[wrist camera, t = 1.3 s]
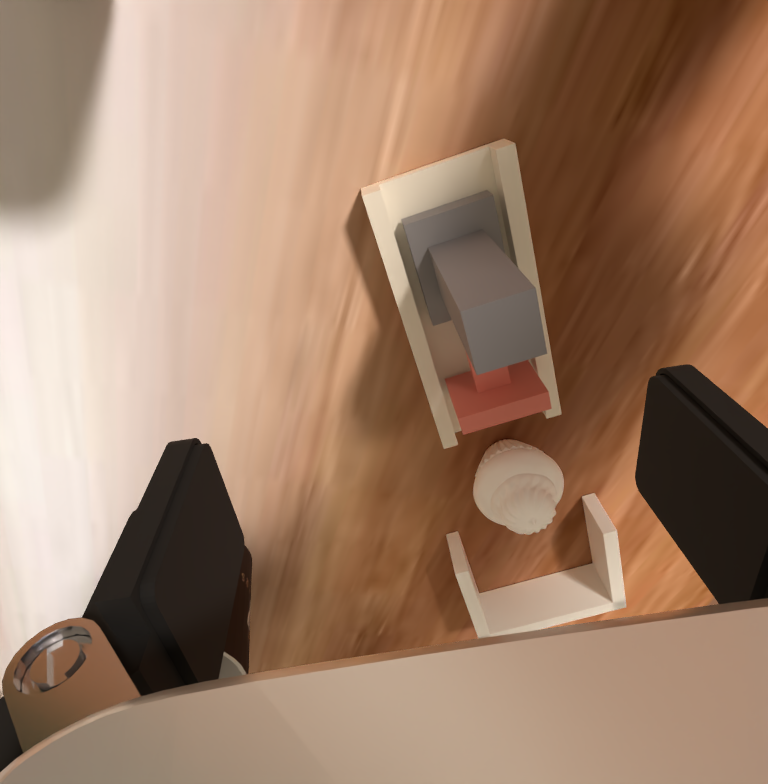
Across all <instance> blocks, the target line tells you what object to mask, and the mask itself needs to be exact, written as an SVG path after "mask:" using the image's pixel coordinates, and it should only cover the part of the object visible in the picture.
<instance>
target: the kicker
mask: <svg viewBox="0 0 768 784" xmlns="http://www.w3.org/2000/svg"><path fill="white" fill-rule="evenodd" d="M401 221H402V224H403V227H404V231H405V234H406V238H407V241H408V244H409V248H410V251H411V255H412V258H413V261H414V265H415V268H416V272H417V275H418V279H419V282H420V285H421V289H422V292H423V296H424V299H425V302H426V306H427V309H428V313H429V316H430V319H431V322H432V324H433V326H435V325H438V324H441V323H444V322H448V321H451V320H452V322H453V324H454V326H455V328H456V330H457V333H458V335H459V337H460V339H461V341H462V344H463V346H464V348H465V351H466V355H467V359H468V362H469V366H470V370H471V371H469V372H466V373H462V374H459V375H456V376H453V377H449V378H446V379H445V382H446V385H447V388H448V392H449V395H450V398H451V401H452V404H453V407H454V410H455V413H456V415H457V418H458V421H459V424H460V427H461V430H462V433H463V435H465V434H468V433H472V432H475V431H478V430H482V429H485V428H489V427H492V426H495V425H499V424H502V423H505V422H509V421H512V420H516V419H519V418H522V417H526V416H529V415H532V414H536V413H539V412H543V411H546V410H549V409H552V407H551V402H550V396H549V391H548V390H547V388H546V387H545V385H544V384H543V382H542V381H541V379H540V378H539V376H538V375H537V373H536V372H535V370H534V368H533V367H532V365H531V364H530V362H529V361H528V360H529V359H532V358H535V357H538V356H542V355H545V354H547V349H546V343H545V338H544V332H543V326H542V321H541V315H540V309H539V304H538V298H537V292H536V287H535V286H534V285H533V284H532V283H531V282H530V281H529V280H528V279H527V278H526V276H525V275H524V274H523V273H522V272H521V271H520V270H519V269H518V268H517V267H516V265H515V264H514V263H513V262H512V261H511V260H510V259H509V258H508V257H507V255H506V254H505V251H504V246H503V241H502V236H501V231H500V226H499V221H498V216H497V211H496V206H495V201H494V196H493V194H491V193H490V192H489V191H488V190H485V191H483V192H480V193H477V194H474V195H471V196H468V197H465V198H462V199H459V200H456V201H453V202H450V203H447V204H444V205H441V206H438V207H435V208H433V209H430V210H427V211H424V212H421V213H418V214H415V215H412V216H409V217H406V218H403V219H401Z"/></svg>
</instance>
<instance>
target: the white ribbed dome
mask: <svg viewBox="0 0 768 784" xmlns="http://www.w3.org/2000/svg"><path fill="white" fill-rule="evenodd" d="M475 477H476V478H475V481H474V486H473V496H474V500H475V503H476V505H477V507H478V508H479V510H480V511H481V512H482V513H483V514H484V515H485V516H486V517H487V518H488V519H490V520H491V521H493V522H495V523H498V524H501V525H505V526H506V527H507V528H508V529H510V530H511V531H514V532H516V533H518V534H527V535H530V534H532V533H533V532H536V533H538V532H539V531H540V530H541V529H546V527H547V524H550V523H552V521H553V520H552V518H553V517H554V516H555V515H556V511H555V507H556V505H557V504H558V502H559V501H560V499H561V497H562V494H563V489H564V478H563V474H562V471H561V469H560V467H559V466H558V464H557V463H556V462H555V461H554V460H553V459H552V458H551V457H549V456H548V455H546V454H544V452H543V451H541V450H539V449H538V448H536V447H534V446H531V445H528V444H526V443H523V442H520V441H517V440H514V439H513V440H511V439H507V440H506V439H504V440H500V441H499V442H496V443H495V444H492V446H490V447H489V448H488V449H487V450H486V452H485V453H484V455H483V458H482V460H481V462H480V464H479V466H478V469H477V472H476V474H475Z"/></svg>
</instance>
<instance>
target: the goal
mask: <svg viewBox="0 0 768 784" xmlns="http://www.w3.org/2000/svg"><path fill="white" fill-rule="evenodd" d="M582 502H583V508H584V514H585V520H586V526H587V532H588V538H589V544H590V551H591V557H592V563H591V564H588V565H584V566H580V567H576V568H573V569H569V570H565V571H561V572H558V573H554V574H550V575H546V576H543V577H539V578H535V579H531V580H528V581H524V582H520V583H516V584H513V585H509V586H505V587H501V588H498V589H494V590H490V591H486V592H483V593H479V591H478V588H477V585H476V582H475V580H474V577H473V574H472V571H471V568H470V565H469V562H468V559H467V556H466V553H465V550H464V547H463V544H462V541H461V538H460V536H459V533H458V531H456V532H453V533H449V534H446V537H447V541H448V546H449V550H450V555H451V559H452V563H453V568H454V572H455V576H456V578H457V581H458V584H459V586H460V589H461V592H462V595H463V597H464V600H465V603H466V606H467V608H468V611H469V614H470V616H471V619H472V622H473V625H474V627H475V630H476V633H477V636H478V638H486V637H493V636H500V635H506V634H513V633H520V632H527V631H534V630H539V629H543V628H547V627H551V626H555V625H559V624H563V623H567V622H570V621H574V620H578V619H582V618H586V617H590V616H594V615H598V614H602V613H605V612H609V611H613V610H617V609H621V608H625V607H626V600H625V592H624V583H623V575H622V567H621V559H620V551H619V543H618V534H617V530H616V528H615V526H614V525H613V523H612V521H611V520H610V518H609V516H608V515H607V513H606V511H605V510H604V508H603V506H602V505H601V503H600V501H599V500H598V498H597V496H596V495H595V493H592V494H589V495H585V496H582Z"/></svg>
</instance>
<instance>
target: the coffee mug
mask: <svg viewBox="0 0 768 784" xmlns="http://www.w3.org/2000/svg"><path fill="white" fill-rule="evenodd" d="M251 573H252V558H251V554H250V552H249V550H248V549H247V547H246V546H245V545H244V554H243V559H242V564H241V569H240V574H239V579H238V584H237V589H236V594H235V599H234V604H233V609H232V614H231V619H230V624H229V629H228V634H227V639H226V644H225V649H224V654H223V659H222V664H221V669H220V674H219V679H222V678H228V677H234V676H240V675H246V674H248V670H249V638H250V606H251Z"/></svg>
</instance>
